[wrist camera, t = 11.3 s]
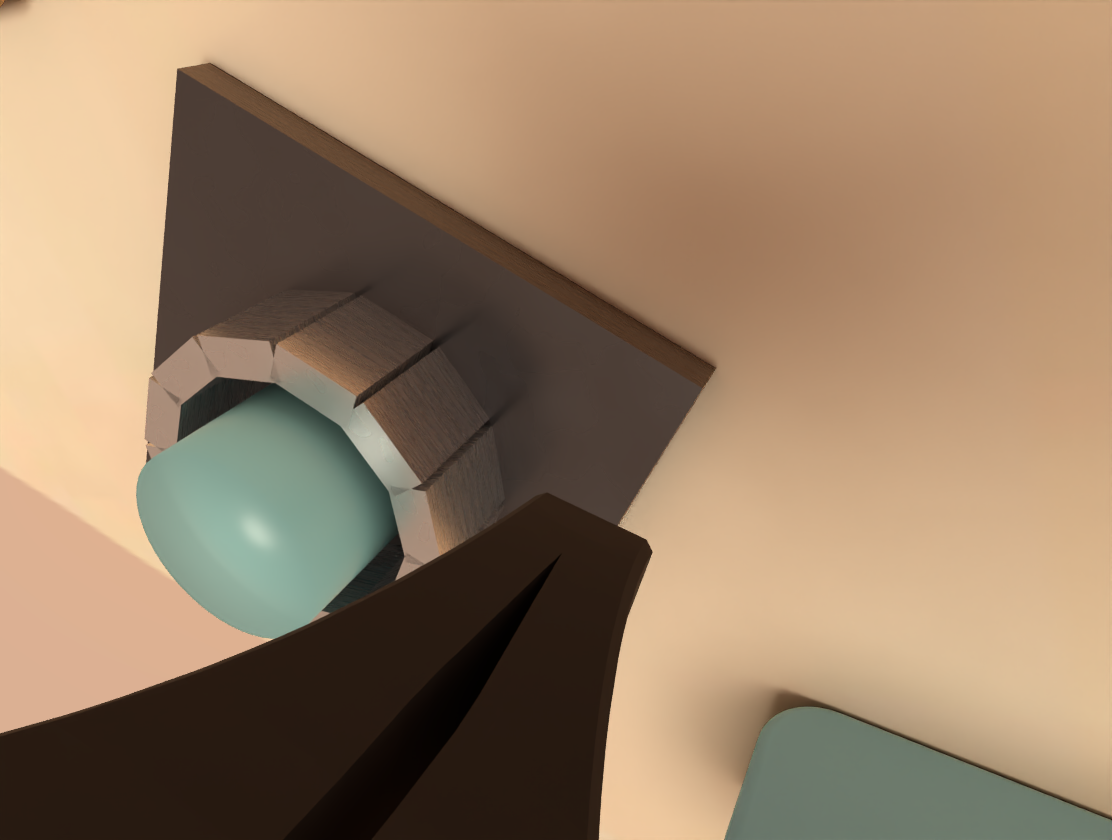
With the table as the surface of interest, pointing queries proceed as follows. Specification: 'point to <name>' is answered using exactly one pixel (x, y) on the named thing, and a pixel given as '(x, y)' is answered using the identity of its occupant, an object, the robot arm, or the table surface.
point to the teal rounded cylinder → (265, 513)
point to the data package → (885, 790)
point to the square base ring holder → (394, 332)
